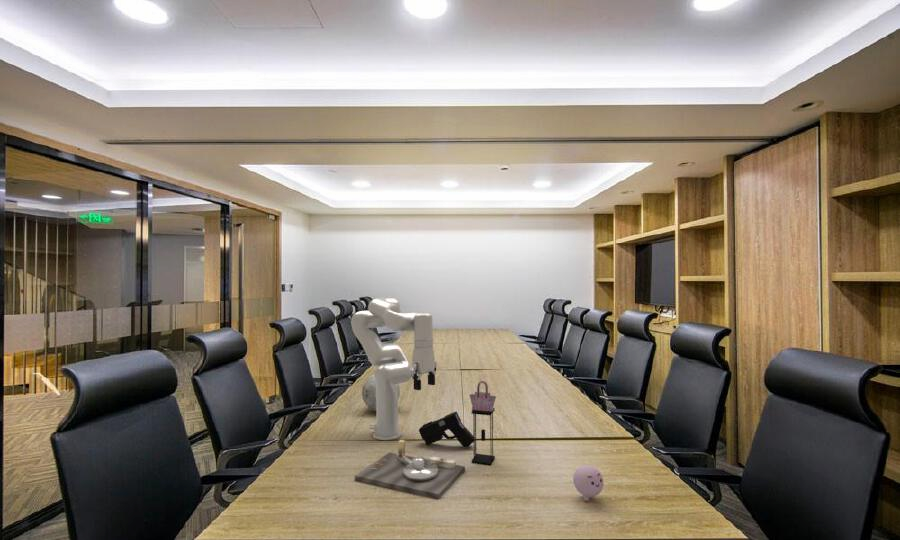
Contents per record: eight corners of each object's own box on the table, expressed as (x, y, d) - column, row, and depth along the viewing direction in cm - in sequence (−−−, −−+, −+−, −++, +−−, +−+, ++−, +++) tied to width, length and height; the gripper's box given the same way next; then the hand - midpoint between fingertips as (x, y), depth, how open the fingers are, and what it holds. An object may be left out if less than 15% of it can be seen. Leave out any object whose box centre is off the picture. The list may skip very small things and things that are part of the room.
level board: (354, 480, 148) (354, 468, 148) (389, 456, 168) (389, 446, 168) (438, 498, 135) (438, 486, 135) (465, 470, 155) (464, 459, 155)
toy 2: (587, 508, 129) (586, 474, 129) (567, 495, 137) (567, 463, 137) (609, 502, 132) (609, 469, 133) (589, 489, 141) (589, 458, 141)
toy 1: (475, 445, 174) (459, 410, 176) (432, 463, 177) (417, 429, 179) (477, 440, 179) (462, 407, 181) (435, 458, 182) (420, 424, 184)
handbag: (498, 458, 166) (498, 379, 166) (494, 466, 159) (493, 384, 159) (472, 454, 169) (472, 378, 170) (467, 462, 162) (466, 382, 163)
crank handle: (444, 474, 148) (444, 453, 148) (415, 484, 141) (414, 462, 141) (410, 453, 167) (410, 434, 167) (382, 460, 160) (382, 441, 160)
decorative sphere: (381, 403, 241) (380, 367, 242) (407, 409, 230) (407, 371, 230) (354, 412, 225) (354, 373, 226) (381, 419, 214) (381, 378, 214)
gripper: (428, 341, 182) (429, 382, 181) (402, 346, 167) (403, 391, 166) (443, 342, 178) (444, 383, 177) (418, 347, 163) (419, 392, 162)
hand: (424, 387), depth 172 cm, fingers open, 9 cm apart
